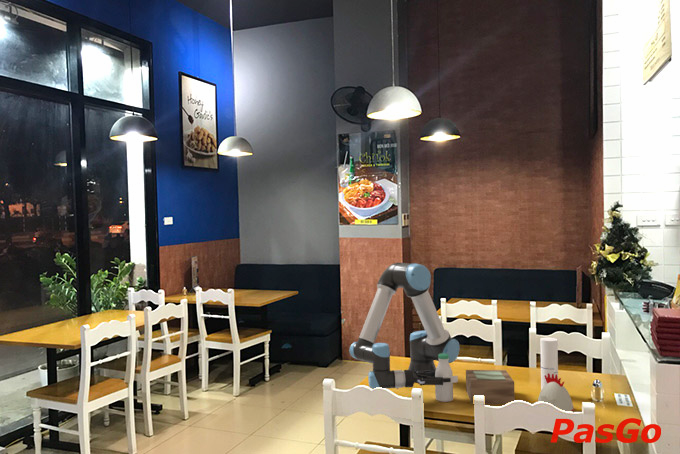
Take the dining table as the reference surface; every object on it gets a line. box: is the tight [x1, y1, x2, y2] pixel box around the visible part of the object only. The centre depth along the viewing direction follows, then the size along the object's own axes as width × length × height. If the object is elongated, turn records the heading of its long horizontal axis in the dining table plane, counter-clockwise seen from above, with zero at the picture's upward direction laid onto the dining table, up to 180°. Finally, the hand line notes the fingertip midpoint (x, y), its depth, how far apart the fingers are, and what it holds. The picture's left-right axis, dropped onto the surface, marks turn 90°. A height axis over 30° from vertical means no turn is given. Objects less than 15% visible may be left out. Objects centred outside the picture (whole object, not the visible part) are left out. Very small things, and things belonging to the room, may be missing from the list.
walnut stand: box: [465, 369, 516, 405], centre depth 242 cm, size 18×18×10 cm
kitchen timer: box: [537, 373, 574, 411], centre depth 225 cm, size 14×14×15 cm
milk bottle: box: [434, 353, 454, 403], centre depth 241 cm, size 8×8×20 cm
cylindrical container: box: [539, 336, 559, 391], centre depth 243 cm, size 7×7×25 cm
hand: (454, 376), depth 242 cm, fingers closed on milk bottle, 7 cm apart
